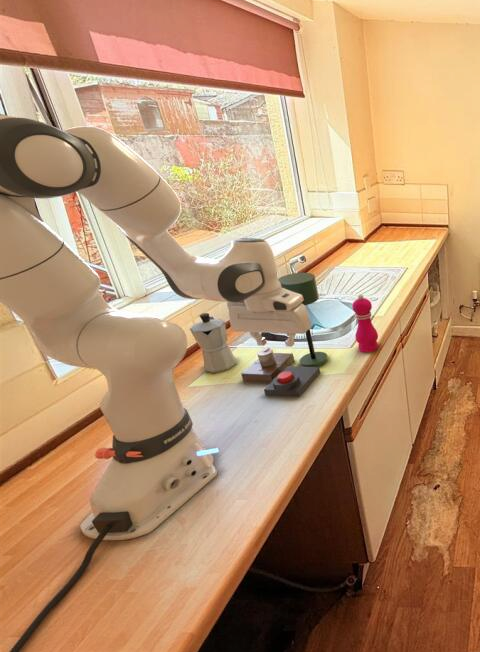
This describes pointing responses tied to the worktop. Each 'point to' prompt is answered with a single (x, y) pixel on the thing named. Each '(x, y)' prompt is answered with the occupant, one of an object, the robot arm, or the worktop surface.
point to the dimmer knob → (266, 357)
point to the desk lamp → (308, 290)
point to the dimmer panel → (267, 369)
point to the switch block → (293, 382)
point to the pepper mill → (365, 325)
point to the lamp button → (285, 377)
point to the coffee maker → (213, 344)
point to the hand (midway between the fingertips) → (276, 345)
